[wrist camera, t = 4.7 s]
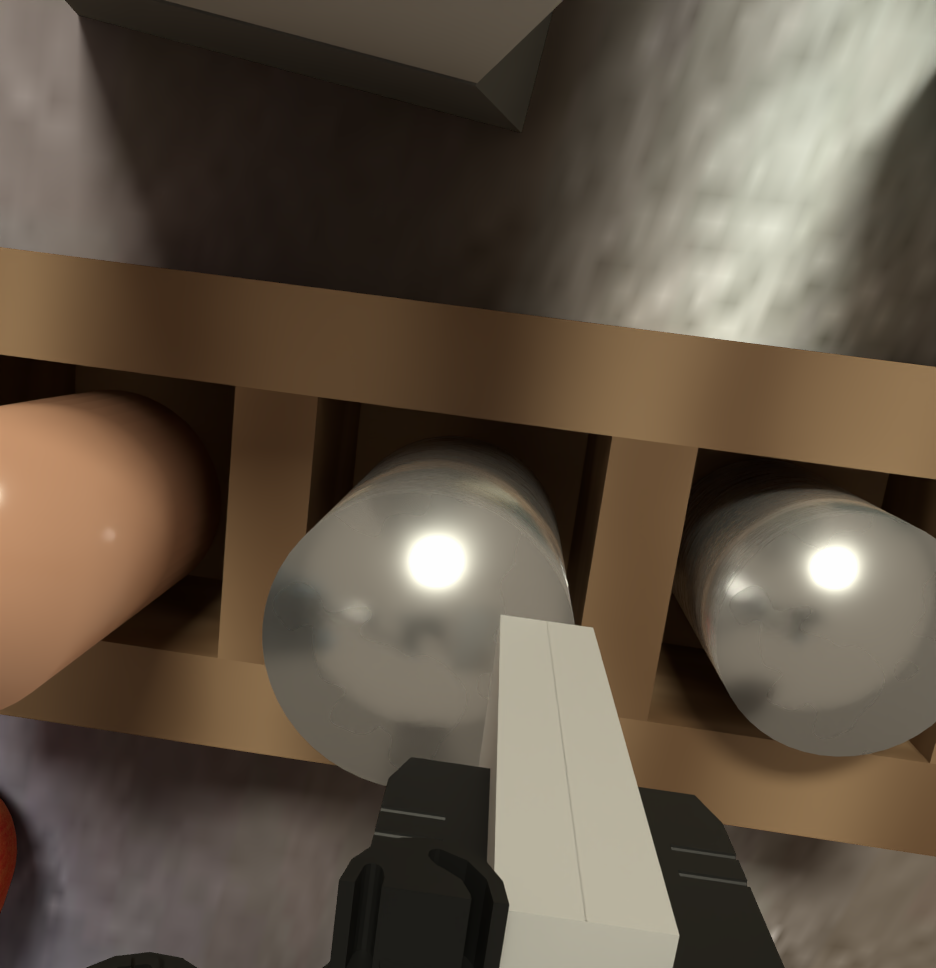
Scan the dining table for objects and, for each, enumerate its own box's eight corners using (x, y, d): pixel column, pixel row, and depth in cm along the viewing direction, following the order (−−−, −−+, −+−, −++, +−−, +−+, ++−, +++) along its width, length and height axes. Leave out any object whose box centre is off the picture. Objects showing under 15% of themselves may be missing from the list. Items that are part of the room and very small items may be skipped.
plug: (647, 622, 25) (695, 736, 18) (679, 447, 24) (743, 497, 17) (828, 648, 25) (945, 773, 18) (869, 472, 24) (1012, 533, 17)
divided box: (34, 617, 27) (-100, 698, 21) (39, 254, 25) (-111, 232, 19) (866, 739, 26) (965, 860, 20) (958, 371, 24) (1102, 388, 18)
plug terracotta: (16, 579, 22) (-213, 695, 15) (18, 376, 21) (-229, 403, 14) (214, 608, 22) (73, 739, 15) (227, 404, 21) (81, 445, 14)
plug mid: (337, 625, 22) (251, 766, 15) (357, 422, 20) (274, 472, 14) (542, 655, 21) (551, 811, 15) (573, 451, 20) (600, 517, 13)
